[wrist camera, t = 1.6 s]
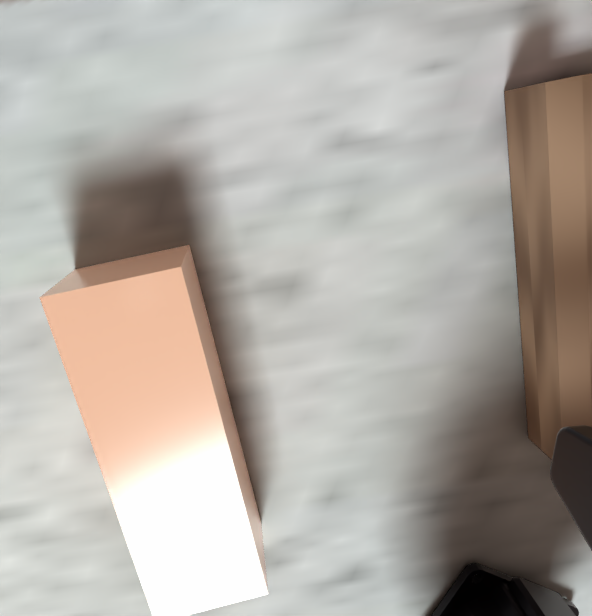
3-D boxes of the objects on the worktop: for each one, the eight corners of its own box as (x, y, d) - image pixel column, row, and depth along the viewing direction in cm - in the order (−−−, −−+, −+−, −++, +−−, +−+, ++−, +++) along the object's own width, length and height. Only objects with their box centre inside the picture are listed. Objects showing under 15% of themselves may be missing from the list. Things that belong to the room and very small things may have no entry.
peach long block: (260, 519, 23) (268, 594, 19) (167, 543, 22) (155, 623, 19) (189, 243, 19) (181, 266, 15) (77, 267, 19) (39, 297, 15)
